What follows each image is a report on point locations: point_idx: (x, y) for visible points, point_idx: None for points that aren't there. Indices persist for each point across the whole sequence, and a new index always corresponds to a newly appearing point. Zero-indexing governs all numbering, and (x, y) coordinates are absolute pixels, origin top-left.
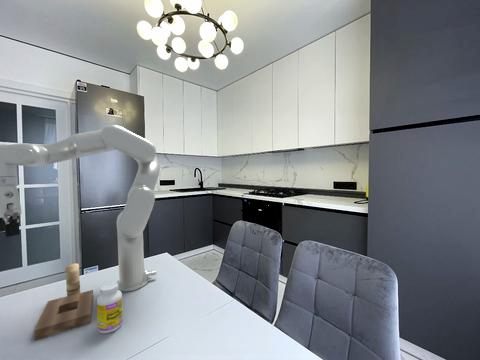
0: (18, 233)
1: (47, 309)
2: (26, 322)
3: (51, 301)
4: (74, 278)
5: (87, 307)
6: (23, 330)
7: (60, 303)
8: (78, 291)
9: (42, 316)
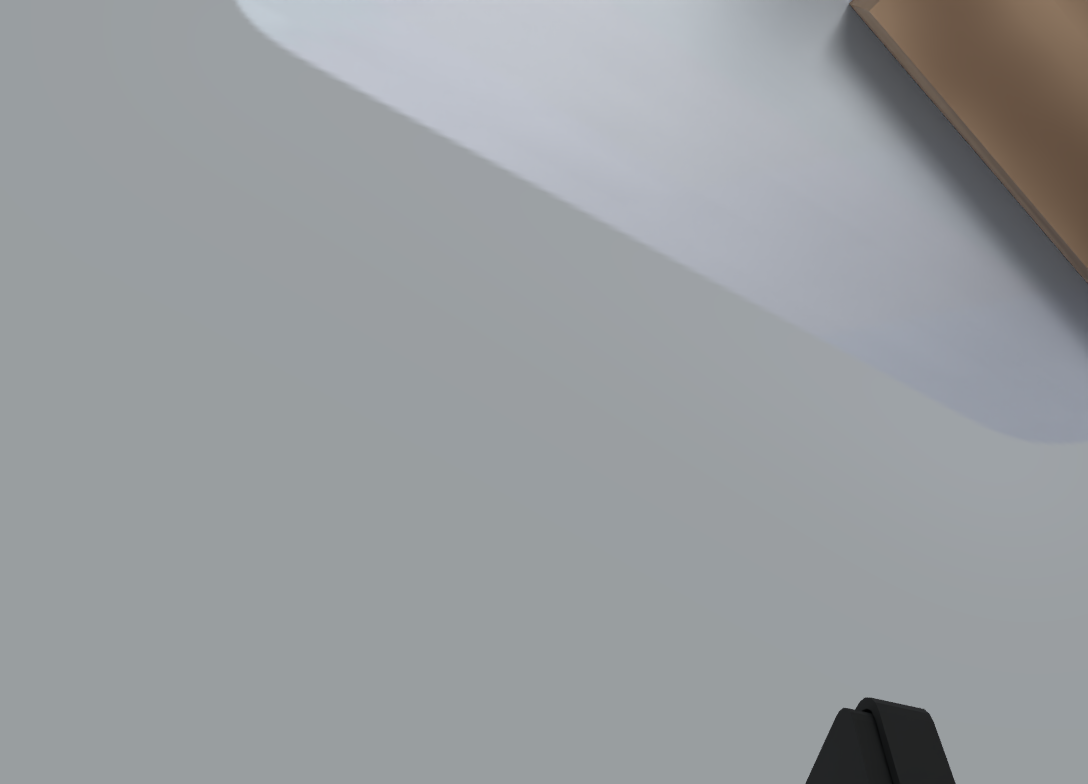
0: (917, 742)
1: (1009, 125)
2: (828, 195)
3: (918, 6)
4: None
5: None
6: (909, 268)
7: (1066, 10)
8: None
9: (1064, 218)
